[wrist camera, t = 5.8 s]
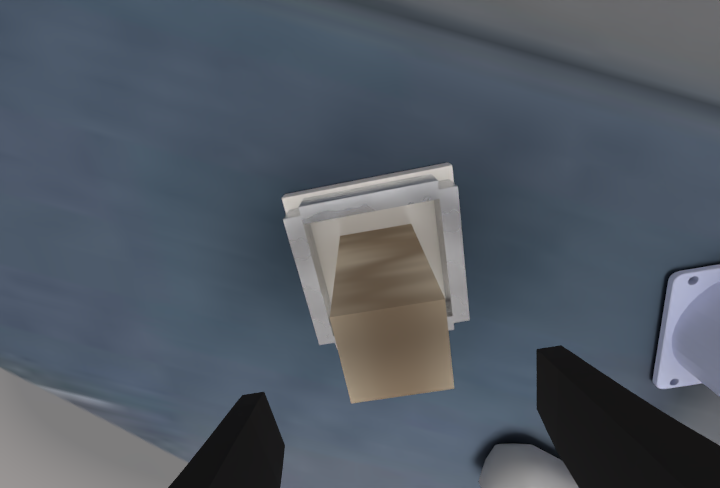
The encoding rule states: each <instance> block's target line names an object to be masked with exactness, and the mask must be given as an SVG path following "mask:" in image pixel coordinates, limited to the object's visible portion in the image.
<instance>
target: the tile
mask: <svg viewBox="0 0 720 488" xmlns="http://www.w3.org/2000/svg"><path fill="white" fill-rule="evenodd" d="M427 174H432V175H433V176H434V177H435V178H436V179H437V180H438V181H441V180H447V179H450V180H451V181H452V182H453V183H454V179H453V168H452V165H451V164H450V163H443V164H437V165H432V166H427V167H422V168H417V169H412V170H407V171H401V172H396V173H391V174H386V175H381V176H376V177H371V178H366V179H360V180H355V181H350V182H345V183H340V184H335V185H330V186H324V187H319V188H314V189H309V190H304V191H299V192H294V193H288V194H285V195H284V196H283V197H282V201H283V205H284V208H285V212H286V214H287V212H288V211H289V210H290V209H295V208H299V205H300V204H301V202H302V200H303V198H308V197H313V196H318V195H324V194H329V193H334V192H339V191H344V190H350V189H355V188H360V187H365V186H370V185H375V184H381V183H386V182H391V181H396V180H401V179H406V178H412V177H417V176H422V175H427ZM406 224H411V225H412V227H413V229H414V231H415V233H416V236H417V238H418V240H419V242H420V245H421V247H422V249H423V251H424V253H425V256H426V258H427V260H428V262H429V264H430V267H431V269H432V271H433V273H434V276H435V278H436V280H437V282H438V284H439V287H440V289H441V291H442V293H443V296H444V298H445V291H444V283H443V274H442V266H441V257H440V248H439V240H438V231H437V223H436V214H435V205H434V200H431V201H426V202H421V203H415V204H410V205H405V206H399V207H394V208H389V209H383V210H378V211H373V212H367V213H362V214H357V215H352V216H346V217H341V218H336V219H330V220H325V221H320V222H314V223H310V225H311V229H312V233H313V237H314V241H315V245H316V248H317V252H318V256H319V260H320V264H321V268H322V271H323V275H324V279H325V283H326V287H327V291H328V294H329V298H330V302H331V303H332V295H333V287H334V279H335V272H336V264H337V256H338V248H339V240H340V236H342V235H348V234H354V233H360V232H365V231H371V230H377V229H383V228H389V227H394V226H400V225H406Z"/></svg>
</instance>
